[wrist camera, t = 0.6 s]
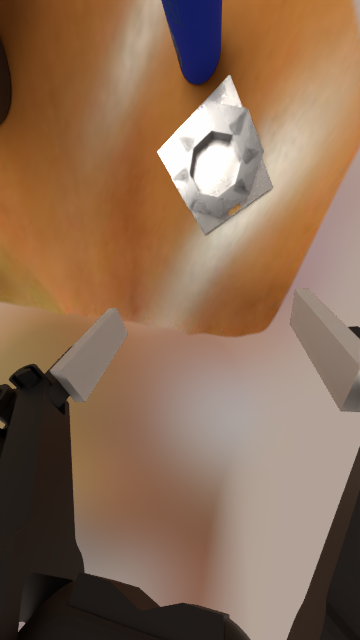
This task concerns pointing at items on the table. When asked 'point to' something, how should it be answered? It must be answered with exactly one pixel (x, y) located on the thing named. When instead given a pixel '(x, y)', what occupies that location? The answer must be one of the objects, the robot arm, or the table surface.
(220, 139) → the socket
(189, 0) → the beverage can
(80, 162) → the table surface
